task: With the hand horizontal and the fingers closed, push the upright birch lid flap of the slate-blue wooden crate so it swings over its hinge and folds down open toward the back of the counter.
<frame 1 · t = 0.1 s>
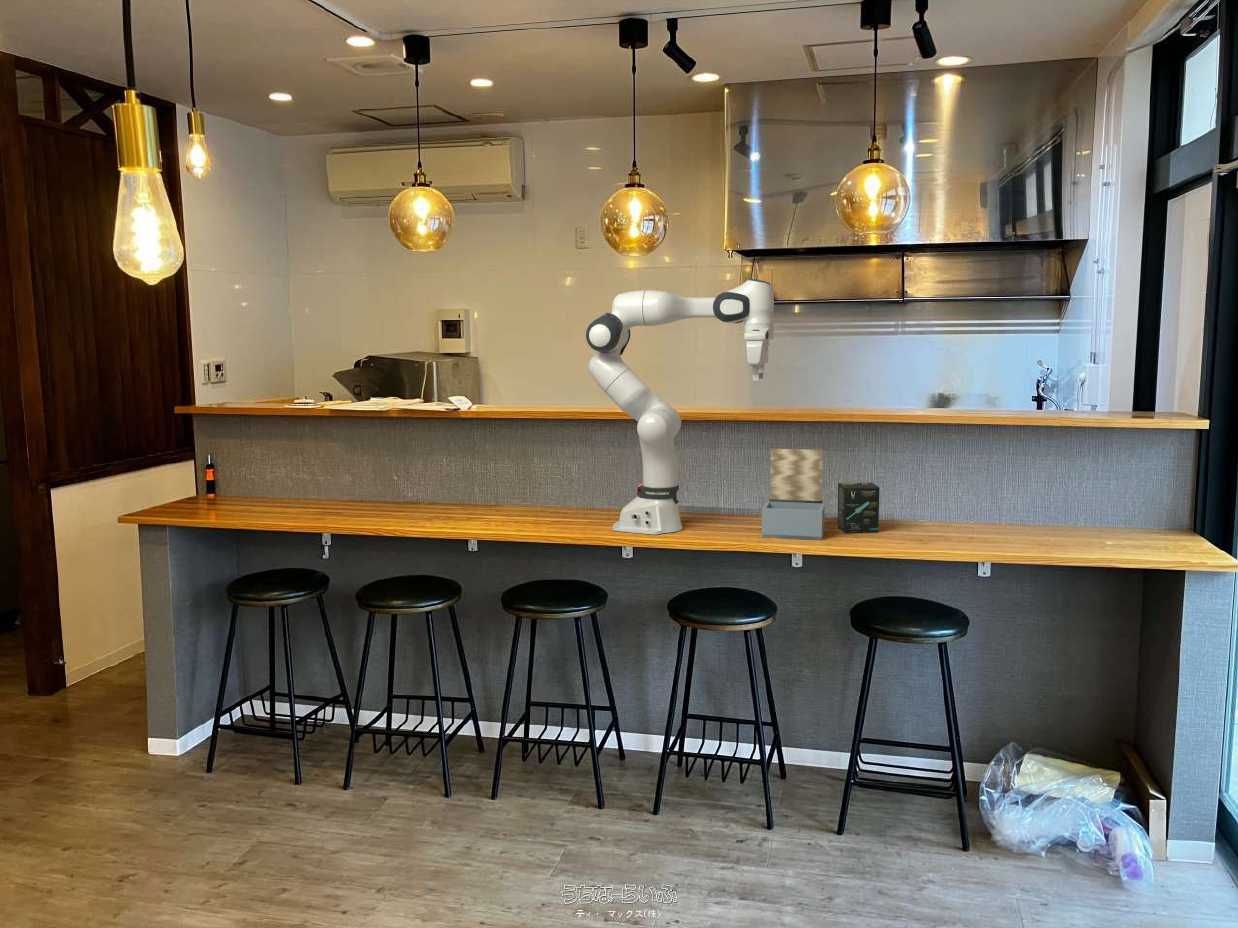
hand: (758, 379, 291), 48 cm above the countertop, tool pointing down, fingers open, 8 cm apart
tampon box: (857, 530, 301), on the countertop
crate: (793, 534, 296), on the countertop
lid flap: (796, 476, 300), point 17 cm above the countertop, hinge at 0.0°
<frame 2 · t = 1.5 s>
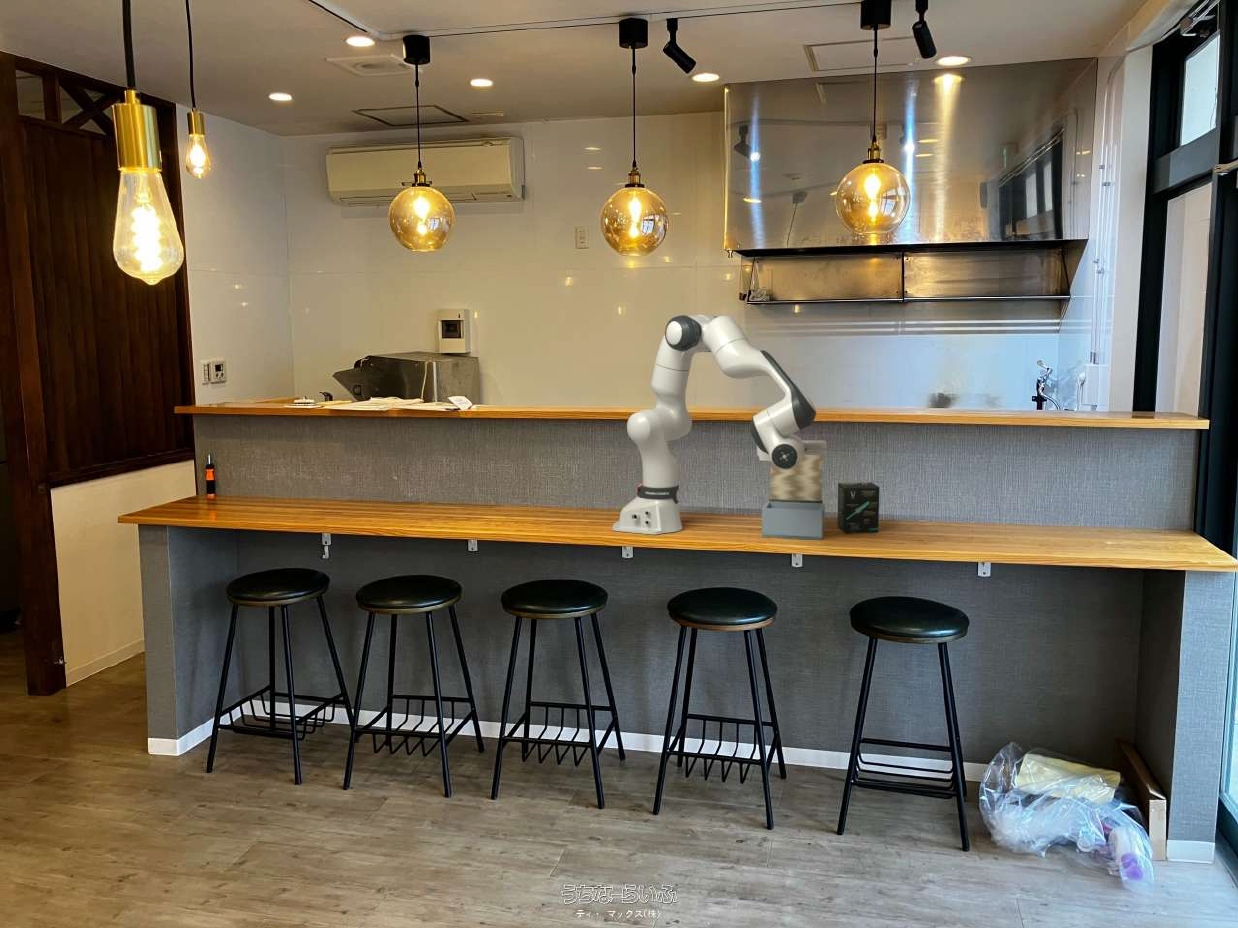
hand: (792, 444, 286), 29 cm above the countertop, tool horizontal, fingers open, 8 cm apart
nothing on the countertop moved.
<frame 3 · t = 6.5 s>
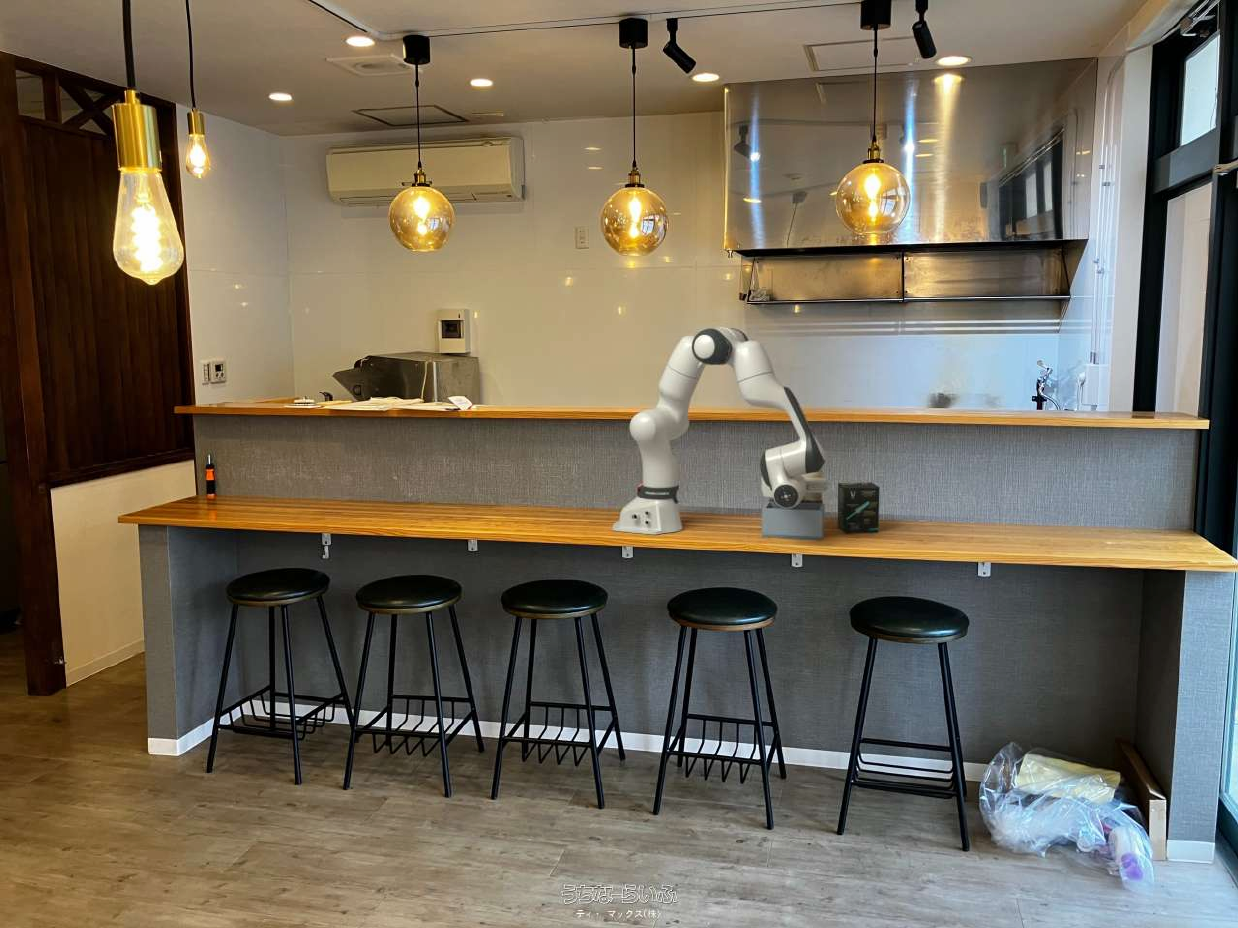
hand: (796, 480, 300), 16 cm above the countertop, tool horizontal, fingers closed, pressing on lid flap
lid flap: (796, 475, 300), point 17 cm above the countertop, hinge at 4.5°, touching gripper
everything else where it was.
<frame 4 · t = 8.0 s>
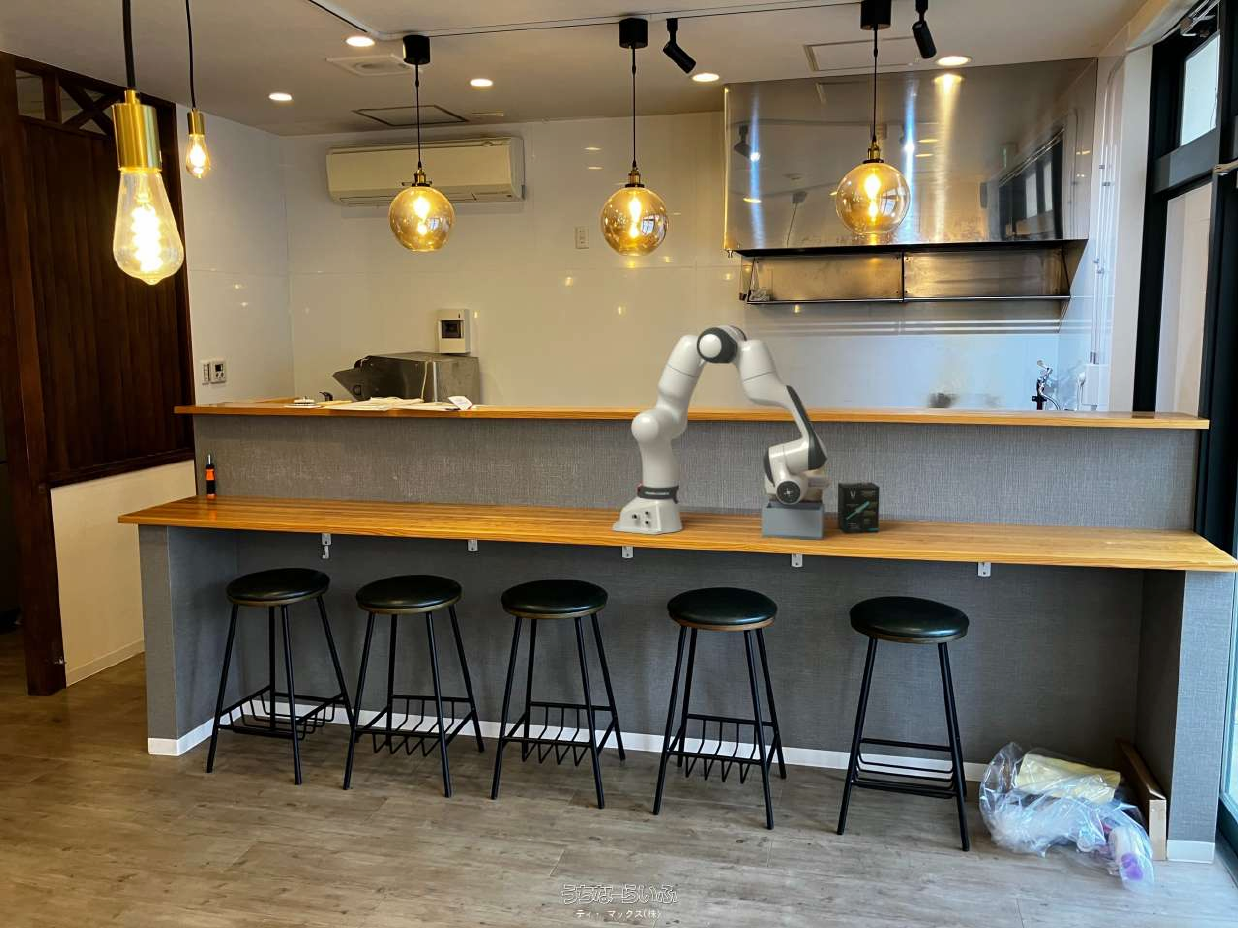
hand: (798, 477, 306), 16 cm above the countertop, tool horizontal, fingers closed, pressing on lid flap
lid flap: (797, 482, 306), point 14 cm above the countertop, hinge at 51.9°, touching gripper
everything else where it was.
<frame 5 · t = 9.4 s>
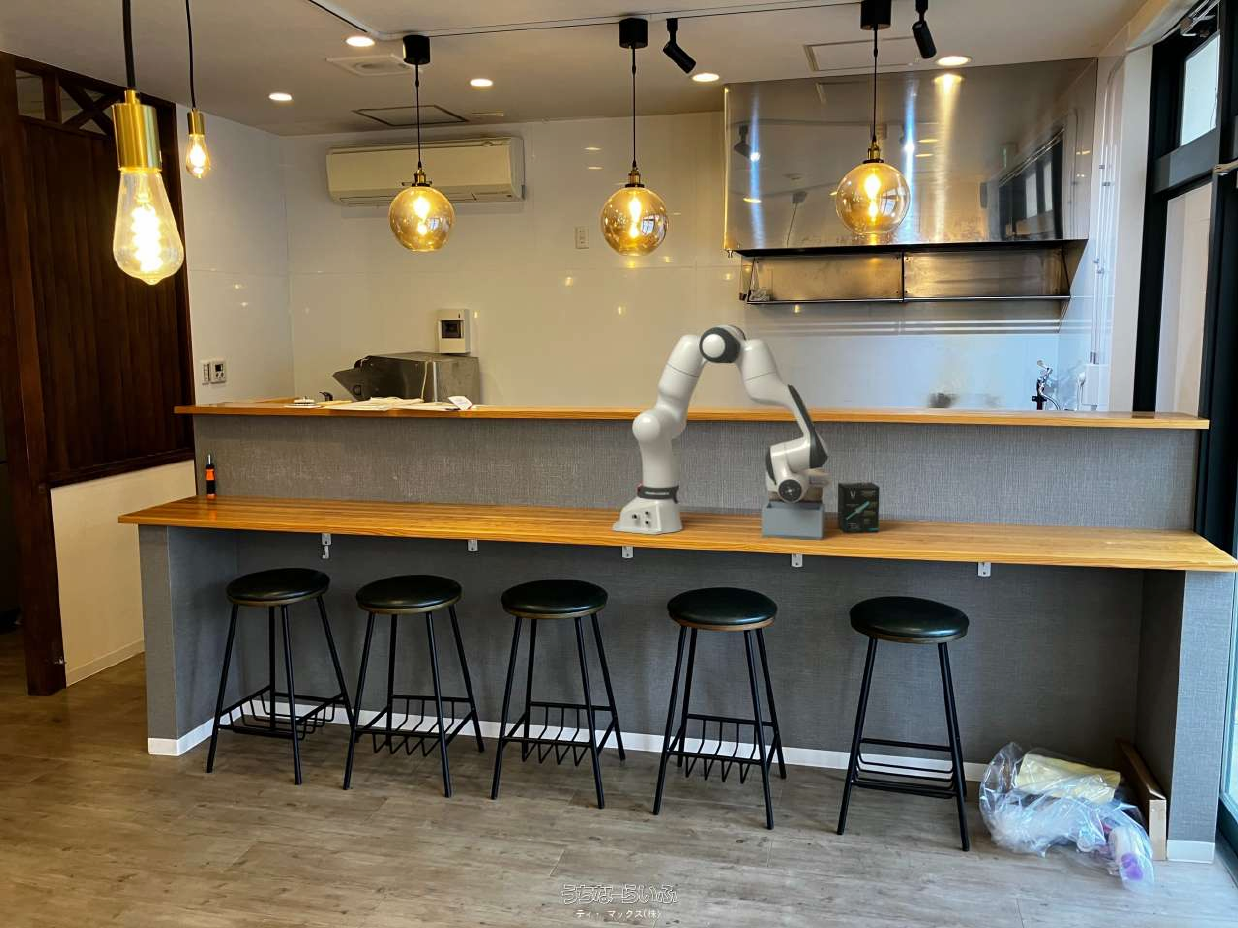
hand: (799, 475, 309), 16 cm above the countertop, tool horizontal, fingers closed, pressing on lid flap
lid flap: (798, 485, 307), point 13 cm above the countertop, hinge at 60.9°, touching gripper
everything else where it was.
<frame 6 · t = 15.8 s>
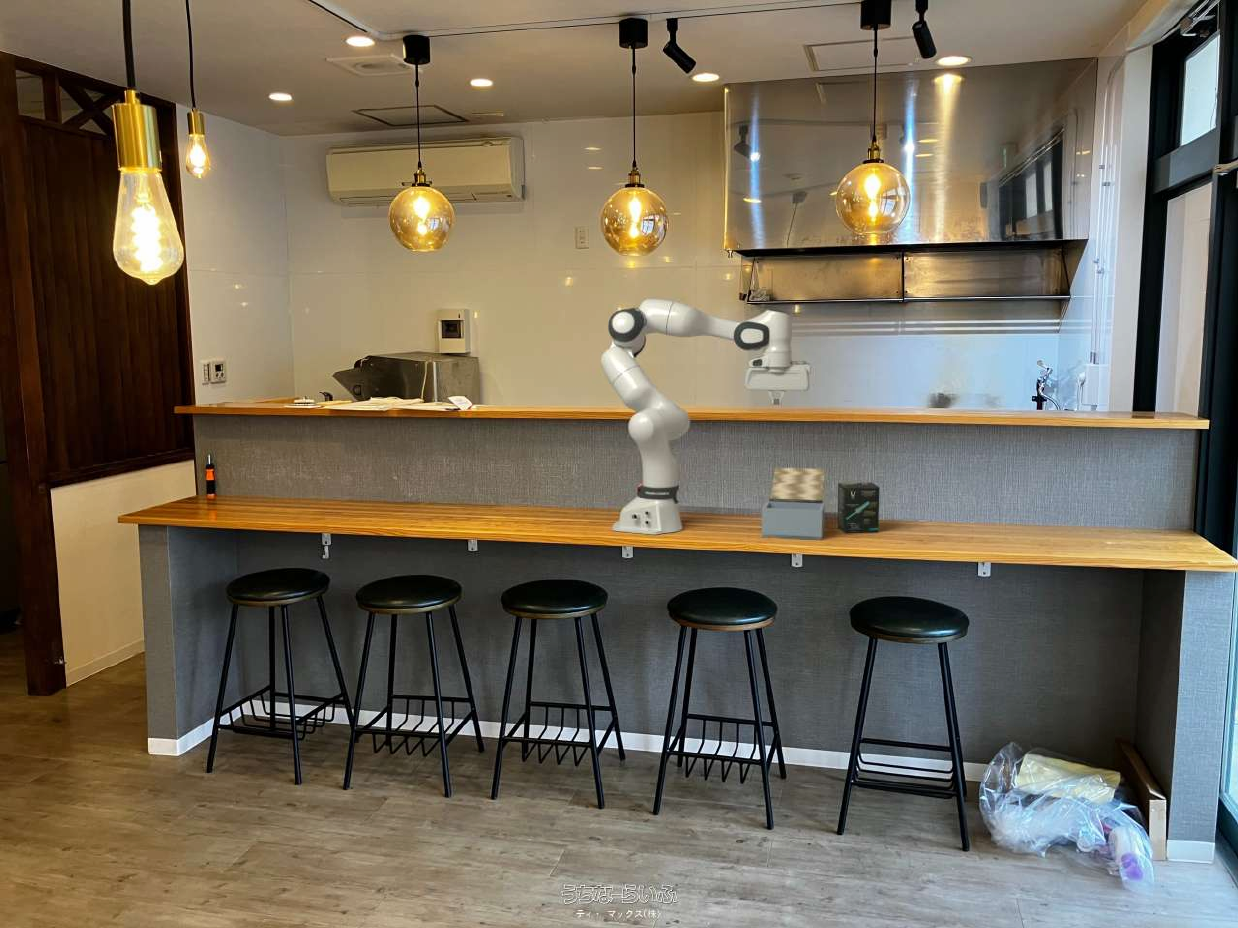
hand: (776, 404, 304), 39 cm above the countertop, tool pointing down, fingers closed
lid flap: (798, 485, 307), point 13 cm above the countertop, hinge at 60.9°
everything else where it was.
at the end: lid flap at +61° (first picture: +0°) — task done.
